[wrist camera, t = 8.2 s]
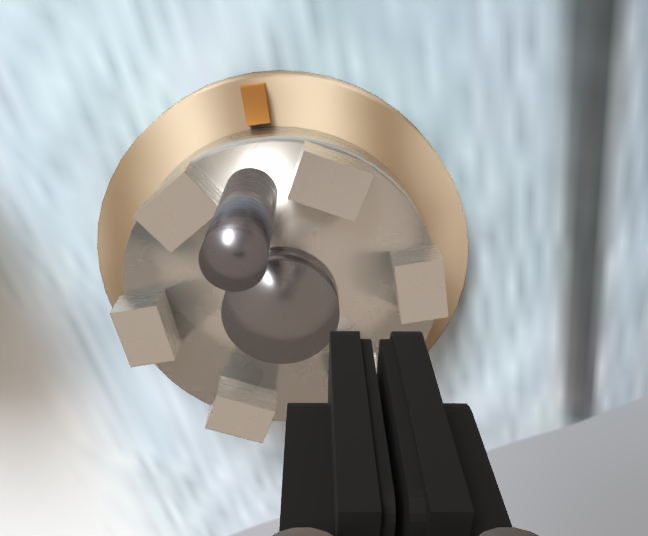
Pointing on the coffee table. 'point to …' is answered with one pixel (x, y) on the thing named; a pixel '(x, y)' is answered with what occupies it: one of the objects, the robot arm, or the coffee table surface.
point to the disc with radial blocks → (272, 271)
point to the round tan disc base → (286, 111)
